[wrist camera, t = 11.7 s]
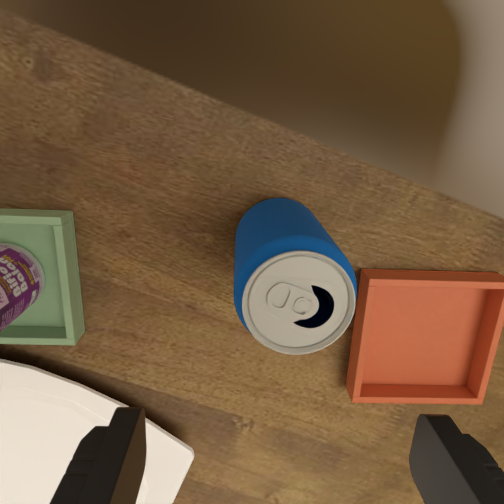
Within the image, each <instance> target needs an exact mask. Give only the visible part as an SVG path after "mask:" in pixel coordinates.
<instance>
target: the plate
mask: <svg viewBox="0 0 504 504" xmlns="http://www.w3.org/2000/svg"><path fill="white" fill-rule="evenodd" d="M117 407H129V406H127V405H125V404H123V403H121V402H119V401H117V400H114V399H112V398H110V397H108V396H106V395H104V394H102V393H100V392H97V391H95V390H93V389H91V388H89V387H87V386H85V385H83V384H80V383H77V382H74V381H72V380H69V379H66V378H64V377H61V376H58V375H56V374H53V373H50V372H48V371H45V370H42V369H39V368H37V367H34V366H30V365H26V364H22V363H17V362H13V361H8V360H4V359H0V504H50V502H51V500H52V498H53V496H54V493H55V491H56V489H57V487H58V485H59V483H60V481H61V479H62V477H63V475H64V474H65V473H66V469H67V467H68V465H69V463H70V461H71V460H72V458H73V455H74V453H75V451H76V449H77V447H78V445H79V443H80V441H81V439H82V438H83V437H85V436H86V435H87V434H88V433H89V432H90V431H91V430H92V429H93V428H94V427H95V426H109V423H110V421H111V419H112V416H113V414H114V412H115V410H116V408H117ZM145 424H146V447H147V453H146V464H145V470H144V474H143V478H142V482H141V486H140V489H139V493H138V497H137V500H136V504H172V503H173V501H174V499H175V497H176V495H177V493H178V491H179V488H180V486H181V484H182V482H183V480H184V478H185V476H186V474H187V471H188V469H189V467H190V465H191V463H192V461H193V459H194V456H195V454H194V451H193V449H192V448H191V447H190V446H188V445H186V444H185V443H183V442H182V441H180V440H179V439H177V438H176V437H174V436H173V435H171V434H170V433H168V432H167V431H165V430H164V429H162V428H161V427H159V426H158V425H156V424H155V423H153V422H152V421H150V420H149V419H147V418H145Z"/></svg>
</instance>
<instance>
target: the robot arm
mask: <svg viewBox="0 0 504 504" xmlns="http://www.w3.org/2000/svg"><path fill="white" fill-rule="evenodd" d="M146 453H147V447H146V424H145V409H144V408H143V407H117V408H116V410H115V412H114V414H113V416H112V419H111V421H110V423H109V426H95V427H94V428H93V429H92V430H91V431H90V432H89V433H88V434H87V435H86V436H85V437H83V438H82V439H81V441H80V443H79V445H78V447H77V449H76V451H75V453H74V455H73V458H72V460H71V461H70V463H69V465H68V467H67V469H66V473H65V474H64V475H63V477H62V479H61V481H60V483H59V485H58V487H57V489H56V491H55V493H54V496H53V498H52V500H51V502H50V504H136V500H137V497H138V493H139V489H140V486H141V482H142V478H143V474H144V470H145V464H146ZM409 464H410V470H411V474H412V477H413V480H414V482H415V484H416V486H417V488H418V490H419V492H420V494H421V496H422V498H423V501H424V503H425V504H504V472H503V471H502V469H501V468H499V467H498V464H497V463H496V461H495V460H494V458H493V457H492V456H491V454H490V453H489V452H488V450H487V449H486V448H485V447H484V446H483V445H481V444H480V443H479V442H478V441H476V440H475V439H474V438H473V437H471V436H470V435H469V434H462V433H461V432H460V430H459V429H458V427H457V426H456V424H455V423H454V422H453V420H452V419H451V418H450V417H449V416H448V415H439V414H421V415H419V417H418V419H417V423H416V427H415V432H414V437H413V441H412V446H411V450H410V455H409Z"/></svg>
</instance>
